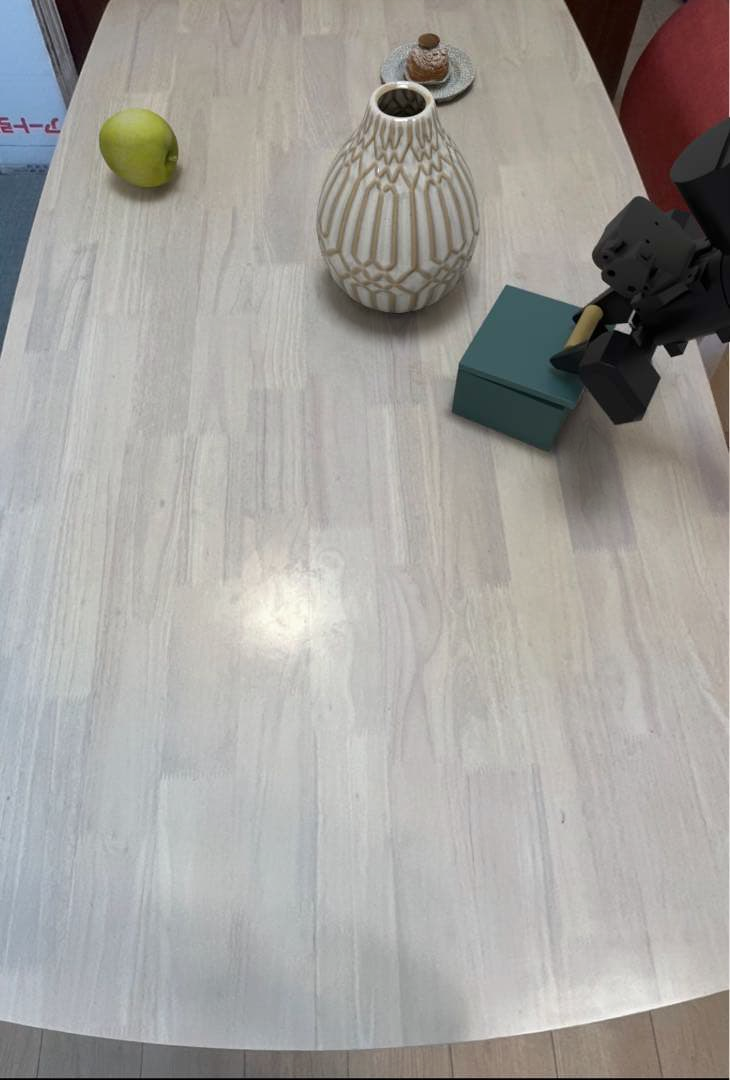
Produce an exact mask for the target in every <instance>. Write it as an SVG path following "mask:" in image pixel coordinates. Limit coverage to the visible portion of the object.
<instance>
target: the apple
mask: <svg viewBox="0 0 730 1080" xmlns="http://www.w3.org/2000/svg"><path fill="white" fill-rule="evenodd" d="M98 147H99V151H100V153H101V155H102V159H103V161H104V162H105V164H106V165H107V166H108V168H109V169H110V170H111V172H113V173H114V174H115V175H116V176H118V177H119V178H121V179H122V180H124V181H126V182H127V183H129V184H132V185H134V186H137V187H140V188H156V187H160V186H163V185H165V184H166V183H168V182H169V181H170V180H171V179H172V177H173V175H174V173H175V170H176V167H177V164H178V161H179V156H180V155H179V154H180V153H179V151H180V150H179V142H178V138H177V136H176V134H175V132H174V130H173V128H172V127H171V125H170V124H169V123H168V121H166V120H165V118H163V117H162V116H161V115H159V114H157V113H156V112H154V111H152V110H149V109H146V108H142V107H141V108H140V107H137V108H136V107H135V108H128V109H125V110H122V111H119V112H117V113H116V114H114V115H112V116H109V118H108V119H106V121H105V122H104V123H103V124H102V126H101V128H100V129H99V134H98Z"/></svg>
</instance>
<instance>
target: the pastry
mask: <svg viewBox="0 0 730 1080" xmlns="http://www.w3.org/2000/svg"><path fill="white" fill-rule="evenodd" d="M476 71H477V70H476V65H475V62H474V60H473V58H472V57H471V56H470V55H469V54H468V53H467V52H466V51H464V49H461V48H458V47H457V46H455V45H453V44H450V43H446V42H443V41H441V39H440V37H439V35H438V34H435V33H432V32H430V33H429V32H428V33H423V34H421V35H420V36H418V39H417V41H415V42H409V43H406V44H402V45H400V46H398V47H395V48H394V49H393V50H392V51H390V53H388V54H387V55H386V56H385V57H384V59H383V61H382V63H381V65H380V76H381V79H382V81H383V83H384V84H386V83H390V82H394V81H409V82H414V83H417V84H420V85H422V86H423V87H425V88H426V89H428V90H429V91H430V92H431V94H432V96H433V98H434V101H435V104H436V103H437V104H442V103H446V102H447V103H448V102H451V101H452V100H453V99H455V98H456V97H458V96H460V95H461V93H463V92H465V91H466V89H467V88H469V86H470V84H472V82H473V81H474V79H475V75H476Z"/></svg>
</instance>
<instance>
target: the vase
mask: <svg viewBox="0 0 730 1080" xmlns="http://www.w3.org/2000/svg"><path fill="white" fill-rule="evenodd" d="M479 207H480V206H479V199H478V194H477V189H476V186H475V182H474V177H473V175H472V171H471V170H470V167H469V165H468V163H467V161H466V159H465V157H464V156H463V154H462V152H461V151H460V148H459V147H458V145H457V144H456V142H455V141H454V139H452V137H451V136H450V134H449V133H448V132H447V130H446V129H445V128H444V127H443V125H442V122H441V120H440V116H439V113H438V109H437V104H436V103H435V101H434V98H433V96H432V94H431V92H430V91H429V90H428V89H426V88H425V87H423V86H422V85H420V84H417V83H414V82H409V81H394V82H390V83H386V84H385V83H384V84H382V85H380V86H378V87H377V88H375V90H374V91H372V93H371V95H370V97H369V99H368V102H367V105H366V108H365V112H364V114H363V117H362V120H361V122H360V124H359V125H358V126H357V128H356V129H355V130H354V131H353V132H352V133H351V134H350V136H348V138H347V139H346V140H345V142H344V143H343V145H342V146H341V148H340V149H339V151H338V152H337V154H336V155H335V157H334V158H333V160H332V162H331V164H330V166H329V168H328V170H327V173H326V175H325V178H324V180H323V184H322V186H321V191H320V194H319V199H318V203H317V210H316V219H315V221H316V222H315V227H316V228H315V229H316V238H317V243H318V246H319V247H318V248H319V250H320V253H321V257H322V259H323V262H324V265H325V266H326V268H327V270H328V273H329V274H330V276H331V277H332V279H333V280H334V281H335V283H336V284H337V285H338V287H339V288H340V289H341V290H342V291H343V292H344V293H346V295H347V296H348V297H350V298H351V299H352V300H354V301H355V302H357V303H359V304H361V305H362V306H365V307H367V308H369V309H372V310H375V311H379V312H383V313H390V314H397V313H398V314H400V313H409V312H414V311H418V310H422V309H423V308H427V307H429V306H431V305H433V304H435V303H436V302H438V301H439V300H441V299H443V298H444V296H446V295H447V294H448V293H449V292H450V291H452V290H453V288H454V287H455V286H456V285H457V284H458V282H459V281H460V280H461V278H462V277H463V276H464V274H465V273H466V271H467V269H468V267H469V265H470V263H471V261H472V258H473V256H474V254H475V250H476V248H477V244H478V239H479V233H480V221H481V220H480V217H481V216H480V208H479Z"/></svg>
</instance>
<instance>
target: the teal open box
mask: <svg viewBox="0 0 730 1080" xmlns="http://www.w3.org/2000/svg"><path fill="white" fill-rule="evenodd" d="M454 385H455V386H454V392H453V400H452V405H451V412H452V413H453V414H456V415H459V416H460V417H463V418H466V419H467V420H471V421H472V422H475V423H477V424H480V425H483V426H485V427H487V428H490V429H492V430H495V431H497V432H499V433H502V434H504V435H507V436H509V437H511V438H514V439H515V440H518V441H521V442H524V443H526V444H528V445H530V446H533V447H536V448H538V449H541V450H543V451H545V452H547V453H548V452H549V451H550V449H551V448H552V446H553V443H554V442H555V440H556V438H557V435H558V434H559V431H560V430H561V428H562V426H563V424H564V422H565V420H566V418H567V416H568V414H569V412H570V410H571V408H568V407H566V406H563V405H560V404H557V403H554V402H551V401H548V400H546V399H543V398H540V397H537V396H534V395H531V394H528V393H526V392H523V391H520V390H517V389H514V388H511V387H508V386H506V385H503V384H500V383H497V382H494V381H491V380H488V379H486V378H483V377H480V376H477V375H474V374H471V373H468V372H466V371H463V370H460V369H458V368H457V371H456V379H455V384H454Z"/></svg>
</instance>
